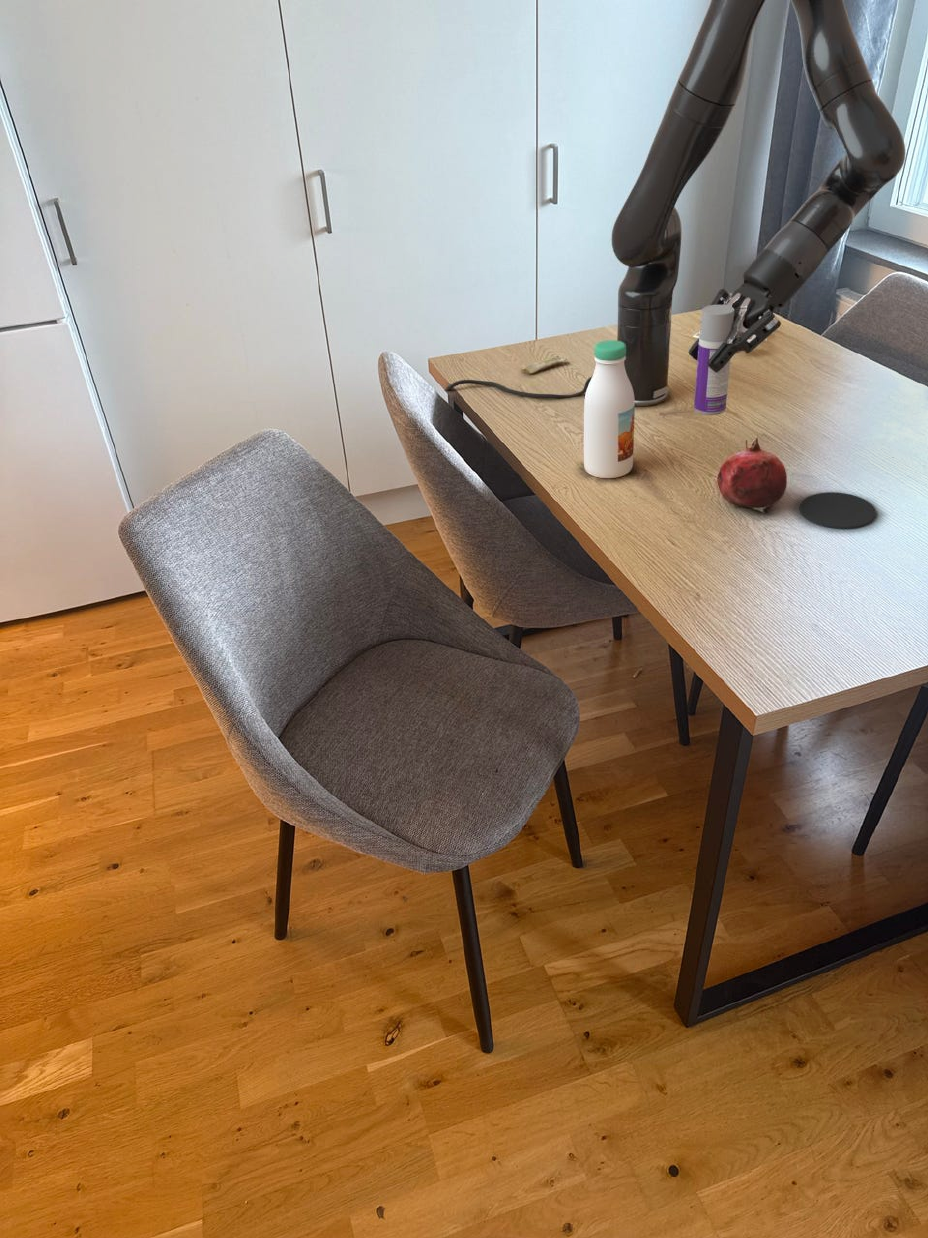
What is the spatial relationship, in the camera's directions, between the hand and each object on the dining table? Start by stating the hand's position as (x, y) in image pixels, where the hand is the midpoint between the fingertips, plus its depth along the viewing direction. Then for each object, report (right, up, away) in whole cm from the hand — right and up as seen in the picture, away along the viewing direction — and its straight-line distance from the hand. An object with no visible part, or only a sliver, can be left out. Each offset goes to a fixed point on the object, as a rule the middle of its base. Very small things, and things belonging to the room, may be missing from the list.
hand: (702, 362), depth 132 cm
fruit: (+7, -21, -1) cm, 22 cm away
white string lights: (+20, +20, +55) cm, 61 cm away
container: (+2, -6, +5) cm, 8 cm away
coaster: (+18, -22, -5) cm, 29 cm away
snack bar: (-19, +13, +50) cm, 55 cm away
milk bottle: (-12, -14, +12) cm, 22 cm away
